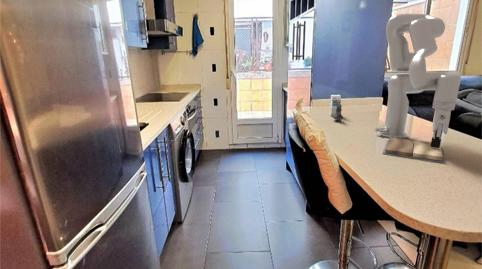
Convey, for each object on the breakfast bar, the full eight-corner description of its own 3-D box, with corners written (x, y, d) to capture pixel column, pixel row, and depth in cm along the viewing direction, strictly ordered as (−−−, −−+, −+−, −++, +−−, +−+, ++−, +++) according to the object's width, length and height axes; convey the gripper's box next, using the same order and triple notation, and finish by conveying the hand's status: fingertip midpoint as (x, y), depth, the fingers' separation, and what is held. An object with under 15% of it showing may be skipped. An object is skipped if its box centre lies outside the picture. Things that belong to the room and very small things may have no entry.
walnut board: (385, 152, 122) (385, 149, 121) (389, 140, 138) (390, 137, 138) (411, 156, 117) (412, 153, 116) (413, 143, 133) (413, 140, 133)
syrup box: (330, 116, 192) (332, 95, 188) (329, 114, 198) (330, 94, 194) (339, 116, 191) (341, 95, 187) (337, 115, 197) (339, 94, 193)
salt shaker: (335, 119, 183) (336, 101, 180) (344, 121, 180) (345, 102, 176) (331, 121, 179) (333, 103, 175) (340, 122, 175) (342, 103, 172)
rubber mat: (382, 153, 122) (382, 153, 121) (387, 140, 139) (387, 139, 139) (444, 163, 110) (444, 162, 110) (441, 147, 128) (441, 146, 128)
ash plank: (412, 156, 117) (413, 153, 116) (413, 143, 133) (414, 140, 132) (441, 160, 111) (442, 156, 111) (439, 146, 128) (440, 143, 127)
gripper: (456, 109, 107) (446, 154, 113) (453, 102, 119) (444, 143, 125) (433, 107, 111) (424, 150, 116) (432, 101, 123) (424, 140, 128)
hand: (434, 146), depth 120 cm, fingers closed
